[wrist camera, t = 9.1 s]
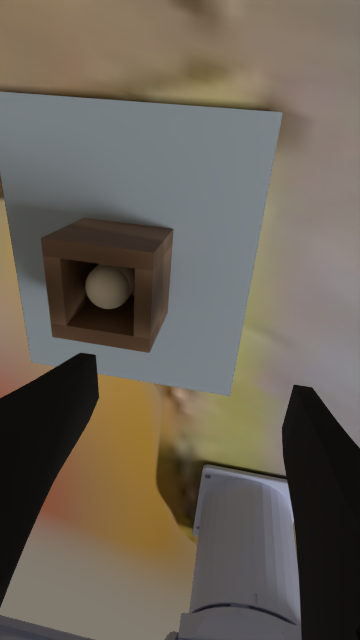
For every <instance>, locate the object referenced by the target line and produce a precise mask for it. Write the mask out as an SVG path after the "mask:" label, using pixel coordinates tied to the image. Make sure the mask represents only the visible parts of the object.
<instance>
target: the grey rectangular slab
mask: <svg viewBox="0 0 360 640" xmlns="http://www.w3.org/2000/svg"><path fill="white" fill-rule="evenodd" d="M281 118H282V112H272V111H258V110H244V109H231V108H217V107H203V106H190V105H176V104H162V103H149V102H135V101H121V100H107V99H94V98H80V97H66V96H53V95H39V94H25V93H12V92H0V175H1V181H2V187H3V193H4V200H5V206H6V211H7V217H8V223H9V230H10V236H11V242H12V248H13V254H14V260H15V266H16V272H17V278H18V284H19V291H20V296H21V303H22V309H23V315H24V321H25V327H26V333H27V339H28V345H29V351H30V357H31V362H32V363H38V364H44V365H50V366H56V367H57V366H59V365H60V364H62V363H63V362H65V361H67V360H68V359H70V358H72V357H73V356H75V355H77V354H79V353H87V354H94V355H96V362H97V374H103V375H108V376H114V377H120V378H126V379H132V380H138V381H144V382H150V383H156V384H161V385H167V386H173V387H179V388H185V389H191V390H197V391H203V392H209V393H214V394H220V395H226V396H230V393H231V387H232V382H233V377H234V371H235V366H236V360H237V355H238V350H239V344H240V339H241V333H242V328H243V323H244V317H245V312H246V306H247V301H248V296H249V290H250V285H251V280H252V274H253V269H254V263H255V258H256V253H257V247H258V242H259V236H260V231H261V226H262V220H263V215H264V209H265V204H266V199H267V193H268V188H269V183H270V177H271V172H272V166H273V161H274V156H275V150H276V145H277V139H278V134H279V129H280V123H281ZM82 218H89V219H97V220H105V221H113V222H121V223H129V224H138V225H146V226H154V227H162V228H170V229H174V230H173V244H172V259H171V273H170V287H169V301H168V313H167V316H166V318H165V320H164V322H163V324H162V327H161V329H160V331H159V333H158V335H157V338H156V340H155V342H154V344H153V346H152V349H151V351H150V353H146V352H140V351H134V350H128V349H122V348H116V347H110V346H104V345H98V344H92V343H85V342H79V341H73V340H67V339H61V338H55V337H52V331H51V322H50V313H49V305H48V296H47V288H46V279H45V271H44V262H43V253H42V245H41V238H42V237H44V236H46V235H48V234H50V233H52V232H55V231H57V230H59V229H61V228H63V227H65V226H67V225H69V224H71V223H74V222H76V221H78V220H80V219H82ZM85 288H86V293H87V296H88V298H89V299H90V300H91V302H92V303H93V304H95V305H96V306H98V307H100V308H103V309H114V308H117V307H119V306H121V305H122V304H124V303H125V302H126V300H127V299H128V298H129V296H130V295H132V296H134V289H135V269H134V268H127V267H119V266H112V265H105V264H99V265H98V266H97V267H95V268H94V269H93V270H92V271H91V272H90V273H89V275H88V277H87V279H86V284H85Z"/></svg>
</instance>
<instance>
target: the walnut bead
mask: <svg viewBox="0 0 360 640" xmlns="http://www.w3.org/2000/svg"><path fill="white" fill-rule="evenodd" d="M173 230H174V229H170V228H162V227H154V226H146V225H138V224H129V223H121V222H113V221H105V220H97V219H89V218H82V219H80V220H78V221H76V222H74V223H71V224H69V225H67V226H65V227H63V228H61V229H59V230H57V231H55V232H52V233H50V234H48V235H46V236H44V237H42V238H41V245H42V253H43V262H44V271H45V279H46V288H47V296H48V305H49V313H50V322H51V331H52V337H55V338H61V339H67V340H73V341H79V342H85V343H92V344H98V345H104V346H110V347H116V348H122V349H128V350H134V351H140V352H146V353H150V351H151V349H152V346H153V344H154V342H155V340H156V338H157V335H158V333H159V331H160V329H161V327H162V324H163V322H164V320H165V318H166V316H167V313H168V301H169V287H170V273H171V259H172V244H173ZM99 264H105V265H112V266H119V267H127V268H134V269H135V289H134V296H132V295H130V296H129V298H128V299H127V300H126V302H125V303H124V304H122V305H121V306H119V307H117V308H114V309H103V308H100V307H98V306H96V305H95V304H93V303H92V302H91V300H90V299H89V298H88V296H87V293H86V288H85V284H86V279H87V277H88V275H89V273H90V272H91V271H92V270H93V269H94V268H95V267H97V266H98V265H99Z"/></svg>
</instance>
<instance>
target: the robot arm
mask: <svg viewBox="0 0 360 640" xmlns="http://www.w3.org/2000/svg"><path fill="white" fill-rule="evenodd" d="M98 399H99V392H98V377H97V362H96V355H94V354H87V353H79V354H77V355H75V356H73V357H72V358H70V359H68V360H67V361H65V362H63V363H62V364H60V365H59V366H57V367H55V368H54V369H52V370H50V371H49V372H47V373H46V374H44V375H42V376H40V377H39V378H37V379H36V380H34V381H32V382H30V383H28V384H26V385H24V386H23V387H21V388H19V389H17V390H15V391H13V392H11V393H10V394H8V395H6V396H4V397H2V398H0V606H1V604H2V602H3V599H4V596H5V594H6V591H7V588H8V586H9V583H10V580H11V578H12V575H13V573H14V571H15V568H16V566H17V563H18V561H19V558H20V556H21V554H22V551H23V549H24V546H25V544H26V541H27V539H28V537H29V534H30V532H31V530H32V528H33V525H34V523H35V521H36V519H37V516H38V514H39V512H40V510H41V507H42V505H43V503H44V501H45V499H46V496H47V495H48V492H49V490H50V488H51V486H52V484H53V482H54V480H55V478H56V477H57V474H58V473H59V471H60V469H61V468H62V466H63V464H64V463H65V461H66V459H67V458H68V456H69V454H70V453H71V451H72V449H73V448H74V446H75V444H76V443H77V441H78V439H79V437H80V436H81V434H82V432H83V431H84V429H85V427H86V425H87V423H88V422H89V420H90V417H91V415H92V413H93V410H94V408H95V406H96V403H97V401H98ZM282 443H283V458H284V464H285V470H286V476H287V479H281V478H276V477H271V476H266V475H261V474H256V473H250V472H245V471H240V470H235V469H230V468H225V467H220V466H214V465H208V464H207V465H204V466H203V470H202V476H201V483H200V489H199V495H198V502H197V508H196V514H195V521H194V527H193V535H194V536H196V537H198V544H197V552H196V561H195V568H194V577H193V585H192V594H191V602H190V611H189V613H182V614H181V620H180V627H179V632H174V631H173V632H170V633H169V634H168V635H167V637H166V638H165V640H360V448H359V447H358V446H357V445H356V444H355V442H354V441H353V440H352V439H351V438H350V437H349V435H348V434H347V433H346V432H345V430H344V429H343V428H342V427H341V425H340V424H339V423H338V422H337V420H336V419H335V418H334V416H333V415H332V414H331V412H330V411H329V410H328V408H327V407H326V406H325V404H324V403H323V402H322V400H321V399H320V397H319V396H318V395H317V393H316V392H315V391H314V389H313V388H312V387H306V386H299V385H294V386H293V390H292V393H291V397H290V401H289V404H288V408H287V412H286V415H285V419H284V423H283V426H282ZM293 521H294V525H295V532H296V545H297V558H296V550H295V541H294V533H293V525H292V524H293ZM297 559H298V566H297ZM0 640H94V639H90V638H86V637H82V636H78V635H74V634H71V633H67V632H63V631H59V630H55V629H51V628H48V627H44V626H40V625H36V624H32V623H28V622H24V621H21V620H17V619H13V618H9V617H5V616H1V615H0Z"/></svg>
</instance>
